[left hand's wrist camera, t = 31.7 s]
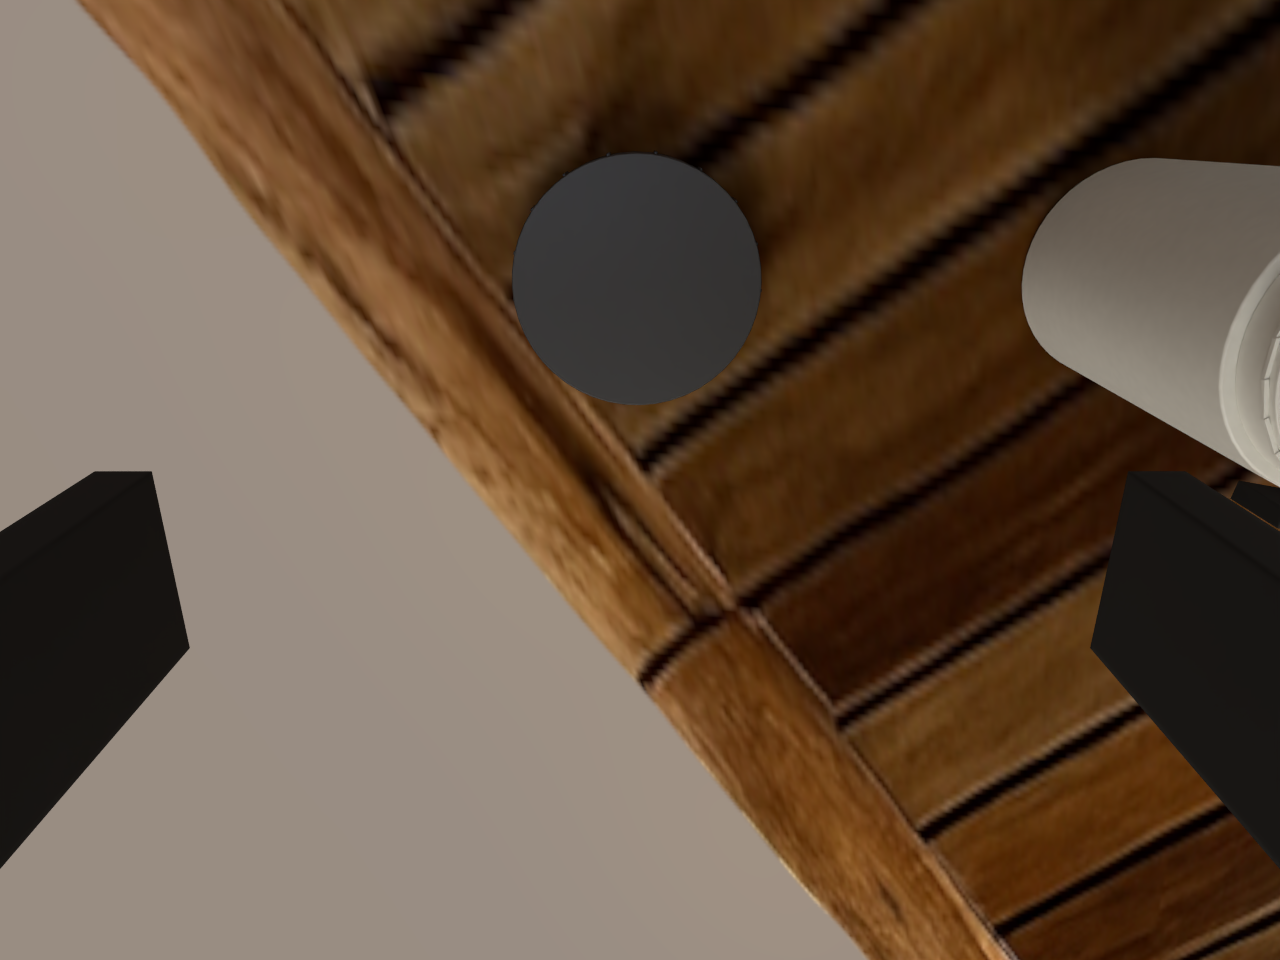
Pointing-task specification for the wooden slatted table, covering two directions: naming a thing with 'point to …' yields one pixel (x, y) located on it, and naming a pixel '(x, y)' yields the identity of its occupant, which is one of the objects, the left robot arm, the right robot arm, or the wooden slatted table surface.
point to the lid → (636, 278)
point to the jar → (1170, 296)
